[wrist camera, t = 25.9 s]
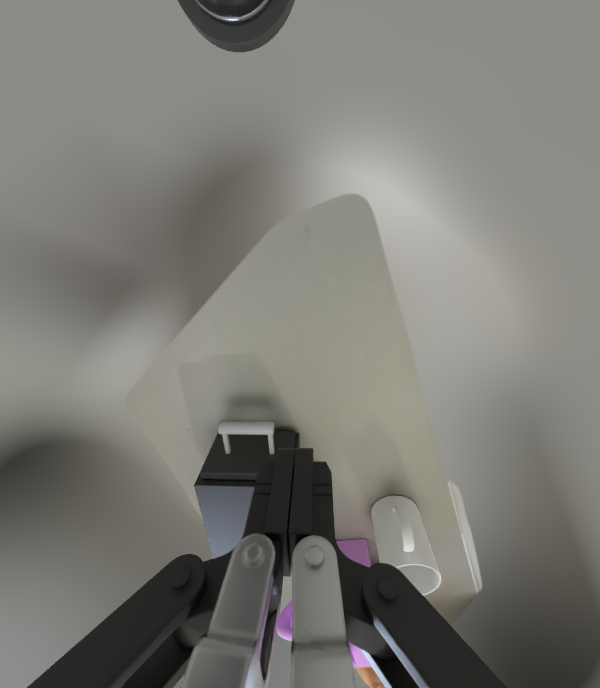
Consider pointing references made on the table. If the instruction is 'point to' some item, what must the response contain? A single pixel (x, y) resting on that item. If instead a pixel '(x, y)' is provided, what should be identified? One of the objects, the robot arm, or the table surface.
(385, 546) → the mug
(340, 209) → the table surface
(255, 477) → the drawer
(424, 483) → the table surface
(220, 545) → the cabinet
